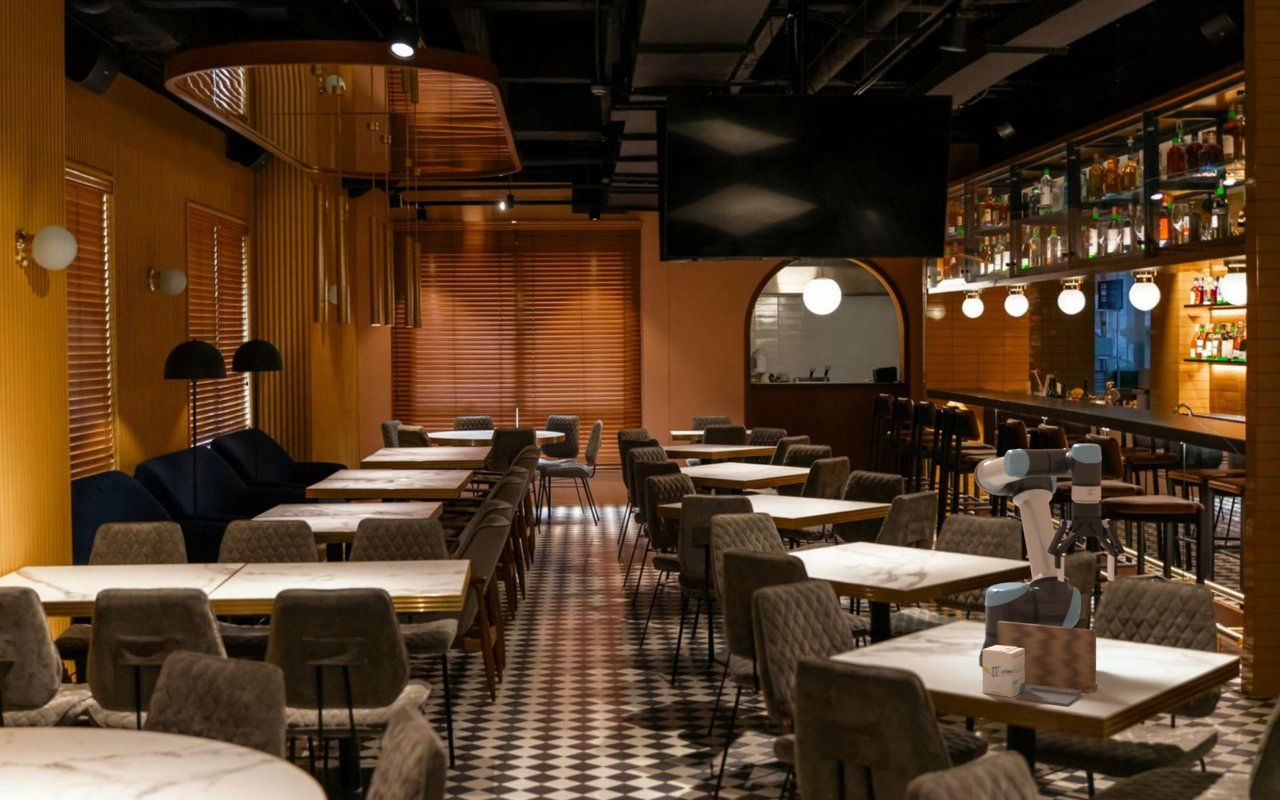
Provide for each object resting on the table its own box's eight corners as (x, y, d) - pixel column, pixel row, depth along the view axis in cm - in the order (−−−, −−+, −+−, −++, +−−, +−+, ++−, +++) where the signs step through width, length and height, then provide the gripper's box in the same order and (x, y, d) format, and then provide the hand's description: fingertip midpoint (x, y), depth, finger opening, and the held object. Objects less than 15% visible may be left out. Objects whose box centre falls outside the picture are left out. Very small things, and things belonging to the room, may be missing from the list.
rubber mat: (1016, 699, 354) (1016, 697, 354) (1031, 689, 365) (1031, 687, 365) (1067, 706, 347) (1067, 703, 347) (1081, 695, 358) (1081, 693, 358)
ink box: (995, 687, 368) (995, 643, 368) (1025, 691, 363) (1025, 647, 363) (981, 693, 362) (981, 648, 361) (1011, 697, 356) (1011, 652, 356)
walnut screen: (994, 682, 374) (994, 623, 374) (1002, 677, 380) (1002, 619, 380) (1091, 693, 360) (1091, 632, 360) (1098, 688, 366) (1098, 628, 366)
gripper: (1045, 503, 364) (1044, 583, 365) (1137, 502, 366) (1137, 582, 366) (1035, 500, 372) (1035, 578, 372) (1126, 499, 373) (1125, 577, 374)
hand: (1085, 580), depth 369 cm, fingers open, 13 cm apart
